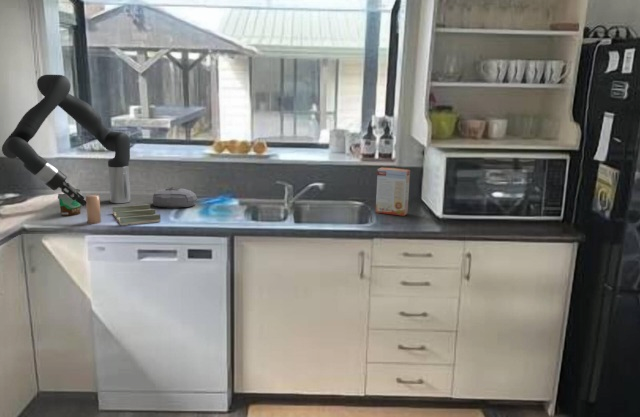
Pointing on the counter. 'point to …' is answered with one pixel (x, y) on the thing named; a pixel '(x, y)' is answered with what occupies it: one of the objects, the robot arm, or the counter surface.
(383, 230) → the counter surface
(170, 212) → the counter surface
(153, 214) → the comb board
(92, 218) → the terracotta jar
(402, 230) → the counter surface
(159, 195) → the soft grey pack
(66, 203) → the food container
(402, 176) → the cracker box
